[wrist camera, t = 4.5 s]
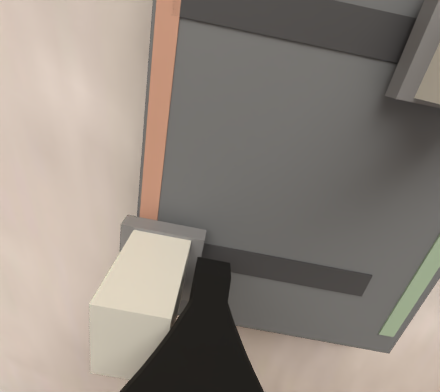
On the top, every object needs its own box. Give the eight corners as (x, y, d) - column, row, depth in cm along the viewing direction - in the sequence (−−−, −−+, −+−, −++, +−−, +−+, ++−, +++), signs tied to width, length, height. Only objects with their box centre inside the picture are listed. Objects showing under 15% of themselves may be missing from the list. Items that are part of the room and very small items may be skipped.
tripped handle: (206, 230, 10) (190, 319, 6) (194, 289, 11) (175, 390, 7) (127, 214, 10) (70, 297, 6) (124, 276, 11) (74, 372, 7)
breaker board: (602, -61, 7) (686, -87, 6) (374, 323, 14) (389, 354, 12) (181, -158, 7) (167, -210, 6) (141, 280, 13) (129, 307, 12)
